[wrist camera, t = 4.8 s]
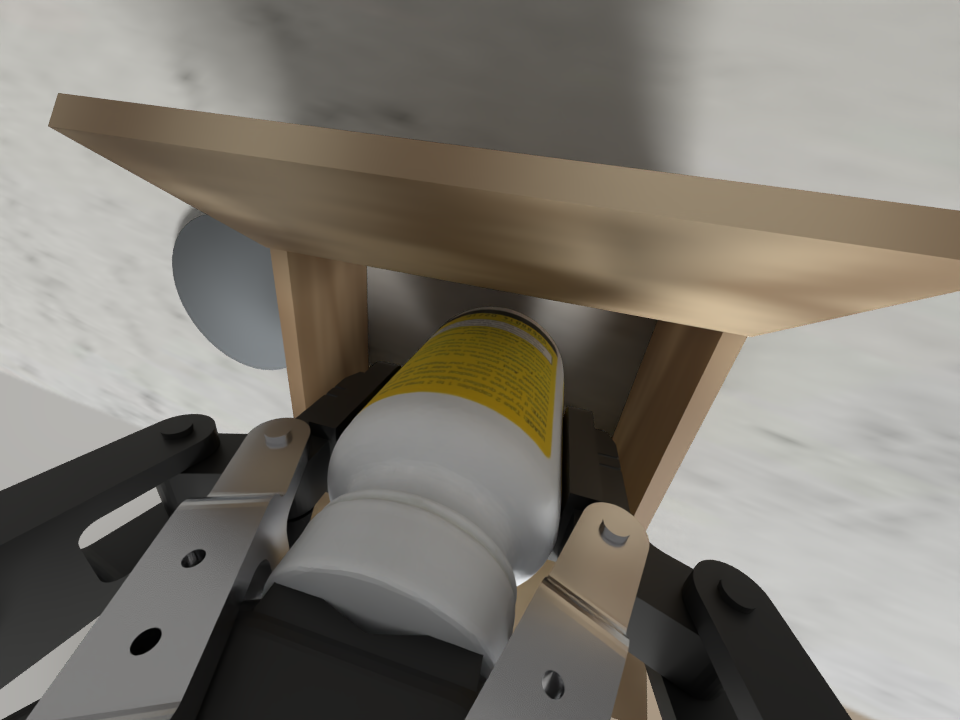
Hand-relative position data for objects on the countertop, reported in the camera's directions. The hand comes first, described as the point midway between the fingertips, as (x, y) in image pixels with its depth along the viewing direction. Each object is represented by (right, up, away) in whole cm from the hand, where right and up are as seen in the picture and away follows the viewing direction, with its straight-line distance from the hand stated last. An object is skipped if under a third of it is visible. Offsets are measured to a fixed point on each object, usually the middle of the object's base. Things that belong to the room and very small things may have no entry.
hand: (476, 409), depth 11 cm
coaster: (-12, +5, +7) cm, 14 cm away
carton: (+1, +2, +5) cm, 6 cm away
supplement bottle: (+1, +1, +3) cm, 3 cm away
